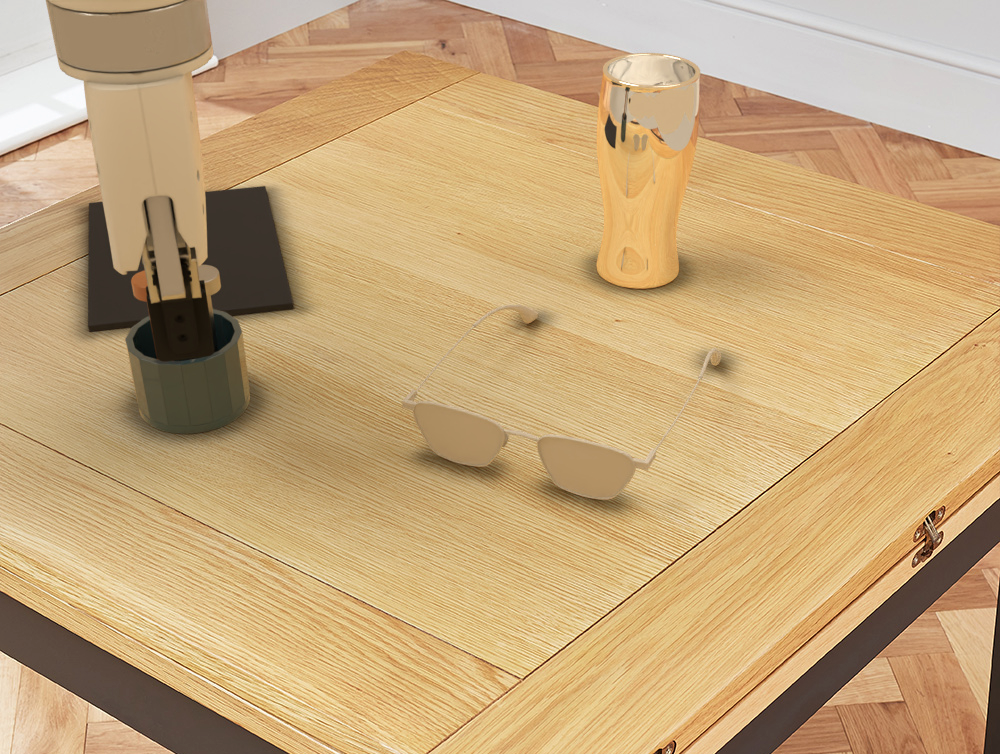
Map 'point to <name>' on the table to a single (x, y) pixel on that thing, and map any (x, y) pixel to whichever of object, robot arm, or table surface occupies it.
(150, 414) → the cup
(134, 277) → the orange disc-head peg
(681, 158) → the beer glass
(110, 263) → the mat
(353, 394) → the table surface
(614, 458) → the eyeglasses
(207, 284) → the beige disc-head peg
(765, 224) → the table surface
